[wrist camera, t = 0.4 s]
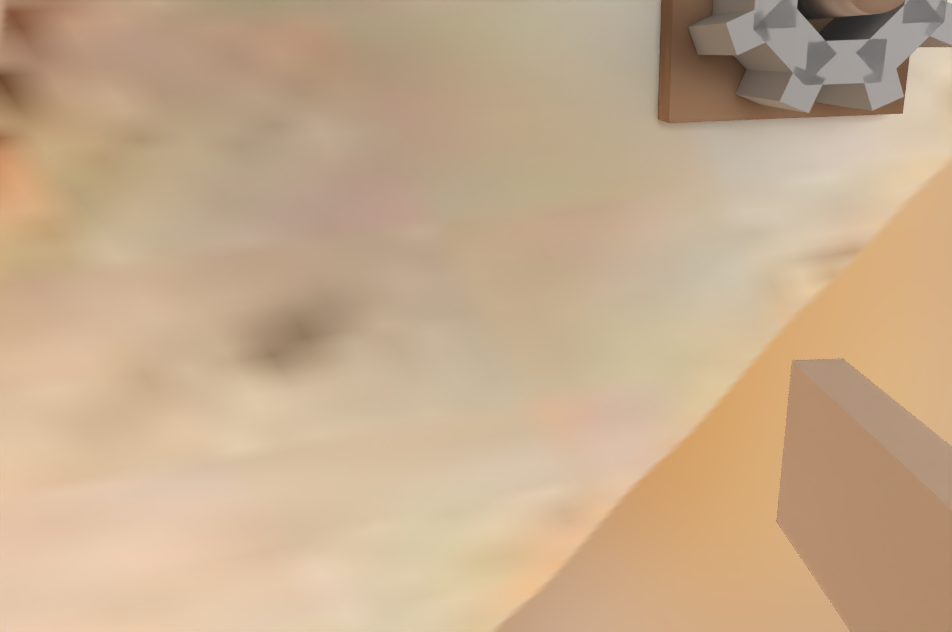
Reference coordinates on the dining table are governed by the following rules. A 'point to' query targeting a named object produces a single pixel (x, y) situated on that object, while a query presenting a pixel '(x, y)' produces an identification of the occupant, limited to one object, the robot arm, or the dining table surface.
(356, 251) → the dining table surface
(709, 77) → the gear board
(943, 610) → the robot arm
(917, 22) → the gear
